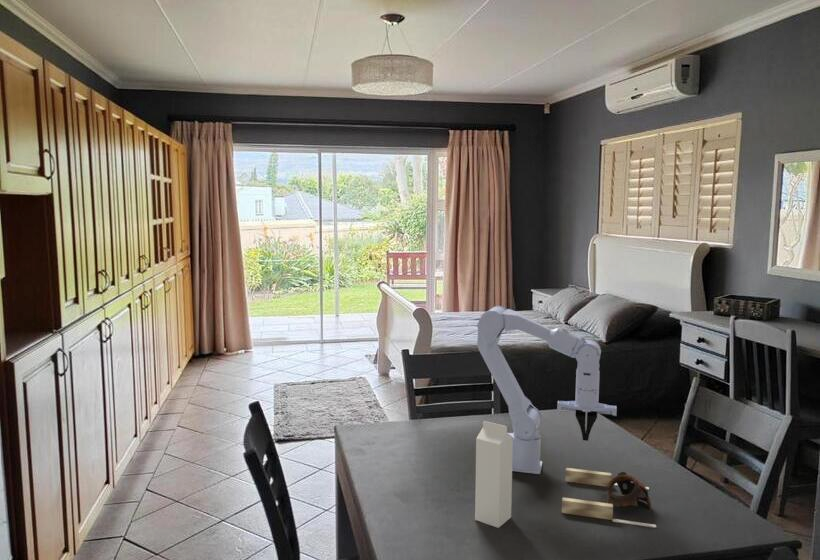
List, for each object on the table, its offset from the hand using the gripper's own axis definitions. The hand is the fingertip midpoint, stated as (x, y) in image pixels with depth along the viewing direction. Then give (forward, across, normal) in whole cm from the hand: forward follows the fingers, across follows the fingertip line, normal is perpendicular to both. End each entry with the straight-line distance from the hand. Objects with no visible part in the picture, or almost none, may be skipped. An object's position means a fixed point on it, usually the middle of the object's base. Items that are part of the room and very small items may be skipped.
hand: (585, 439), depth 157 cm
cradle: (+10, +1, -12) cm, 16 cm away
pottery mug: (+10, +10, -13) cm, 19 cm away
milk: (+10, -19, -29) cm, 36 cm away
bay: (+10, +11, -12) cm, 19 cm away
